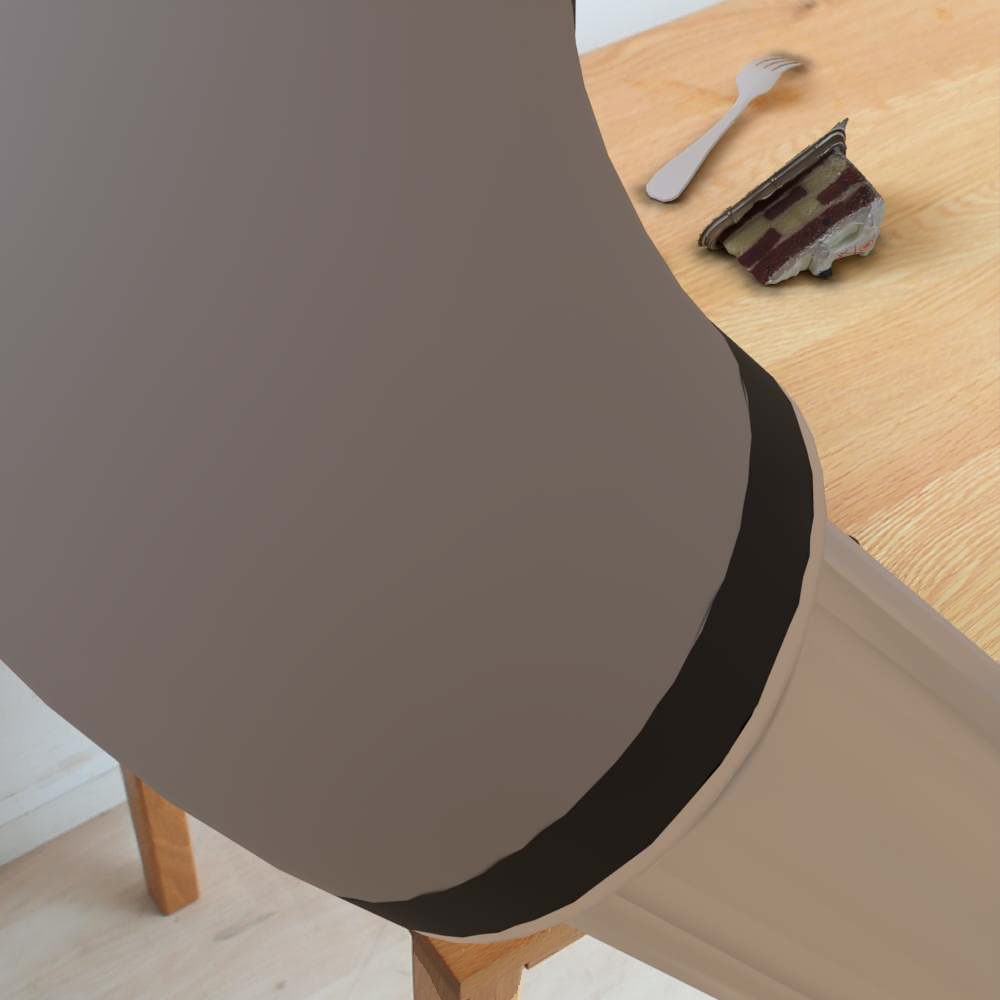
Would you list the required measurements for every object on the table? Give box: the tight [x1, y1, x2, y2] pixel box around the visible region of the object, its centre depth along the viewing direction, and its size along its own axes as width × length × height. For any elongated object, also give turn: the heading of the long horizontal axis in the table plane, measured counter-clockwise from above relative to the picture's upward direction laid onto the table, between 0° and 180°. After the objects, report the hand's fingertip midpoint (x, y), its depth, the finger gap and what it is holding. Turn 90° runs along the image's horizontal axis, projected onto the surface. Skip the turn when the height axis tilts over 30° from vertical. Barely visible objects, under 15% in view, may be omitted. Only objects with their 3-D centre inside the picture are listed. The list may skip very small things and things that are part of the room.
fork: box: [645, 56, 803, 203], centre depth 103 cm, size 3×21×3 cm, turn 147°
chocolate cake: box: [697, 117, 887, 286], centre depth 93 cm, size 10×7×12 cm
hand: (479, 450), depth 69 cm, fingers closed on pot, 7 cm apart
